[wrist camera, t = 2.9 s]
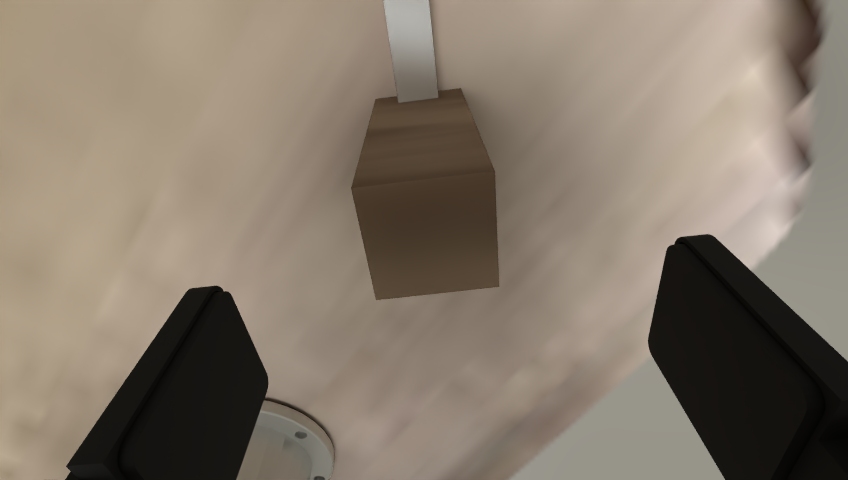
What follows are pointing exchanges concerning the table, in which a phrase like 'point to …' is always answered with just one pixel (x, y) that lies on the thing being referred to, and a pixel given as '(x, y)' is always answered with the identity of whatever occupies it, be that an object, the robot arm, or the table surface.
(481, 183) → the brown wooden block
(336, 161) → the table surface
